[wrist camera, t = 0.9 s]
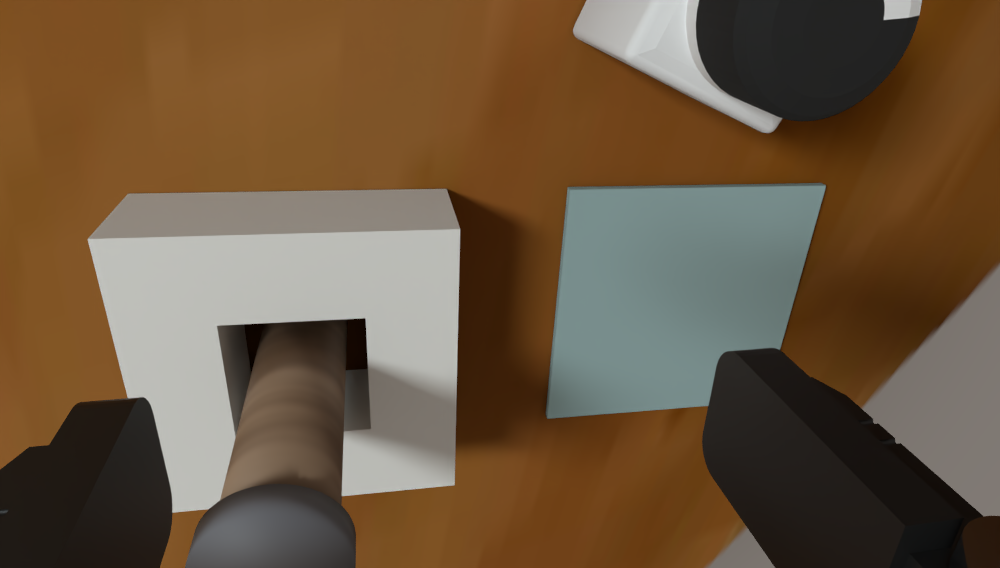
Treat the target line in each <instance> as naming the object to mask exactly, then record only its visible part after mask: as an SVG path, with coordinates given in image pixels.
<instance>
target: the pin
mask: <svg viewBox="0 0 1000 568" xmlns="http://www.w3.org/2000/svg"><path fill="white" fill-rule="evenodd" d="M346 351H347V319H341V320H321V321H301V322H281V323H264V325H263V329H262V333H261V337H260V341H259V345H258V349H257V353H256V357H255V361H254V365H253V369H252V373H251V377H250V381H249V386H248V390H247V394H246V398H245V402H244V406H243V410H242V414H241V418H240V422H239V426H238V430H237V434H236V438H235V442H234V446H233V450H232V454H231V458H230V462H229V466H228V470H227V474H226V478H225V482H224V486H223V490H222V494H221V498H220V501H218V502H217V503H216V504H215V505H213V506H212V507H211V508H210V509H209V510H208V511H207V512H206V513H205V514H204V515H203V517H202V518H201V520H200V521H199V523H198V525H197V527H196V530H195V533H194V537H193V540H192V544H191V548H190V551H189V555H188V558H187V562H186V566H185V568H355V560H356V533H355V527H354V524H353V521H352V519H351V517H350V516H349V514H348V513H347V511H346V510H345V509H344V508H343V507H342V506H341V500H342V470H343V440H344V411H345V381H346Z"/></svg>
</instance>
